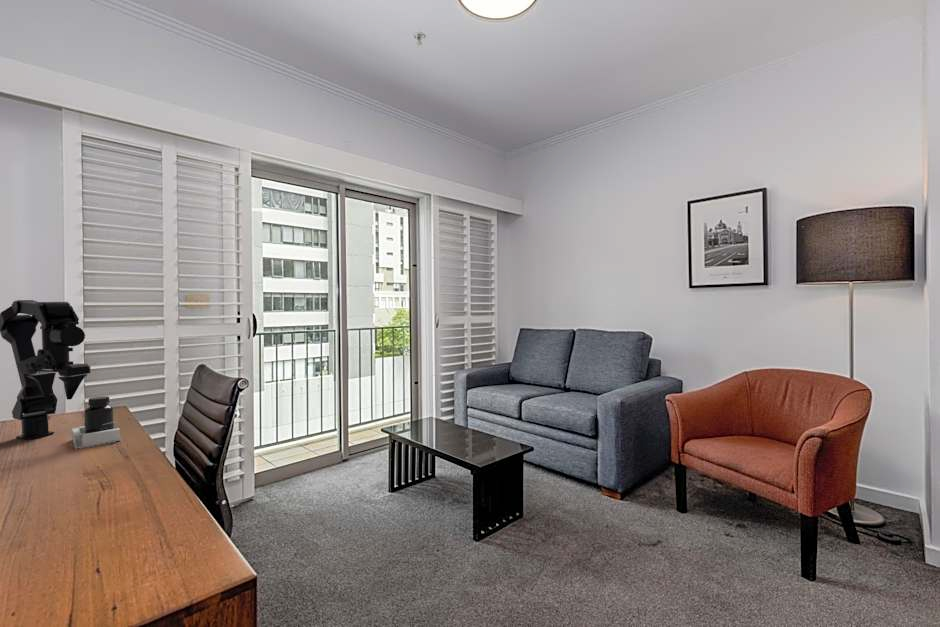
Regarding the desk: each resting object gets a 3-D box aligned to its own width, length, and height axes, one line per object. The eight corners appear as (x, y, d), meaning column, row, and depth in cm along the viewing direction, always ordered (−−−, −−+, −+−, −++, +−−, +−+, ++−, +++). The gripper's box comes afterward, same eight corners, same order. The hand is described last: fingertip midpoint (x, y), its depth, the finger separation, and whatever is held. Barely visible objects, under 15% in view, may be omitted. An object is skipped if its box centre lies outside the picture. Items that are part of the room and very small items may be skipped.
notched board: (75, 449, 127) (75, 436, 127) (72, 440, 136) (71, 428, 136) (120, 441, 134) (119, 429, 134) (114, 432, 143) (114, 421, 143)
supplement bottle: (109, 439, 134) (108, 399, 134) (80, 442, 131) (79, 401, 131) (117, 433, 140) (116, 394, 140) (90, 436, 138) (88, 396, 137)
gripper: (-2, 347, 127) (1, 403, 128) (46, 348, 122) (48, 406, 123) (45, 343, 138) (47, 394, 138) (90, 344, 133) (92, 397, 133)
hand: (57, 398), depth 133 cm, fingers open, 9 cm apart
